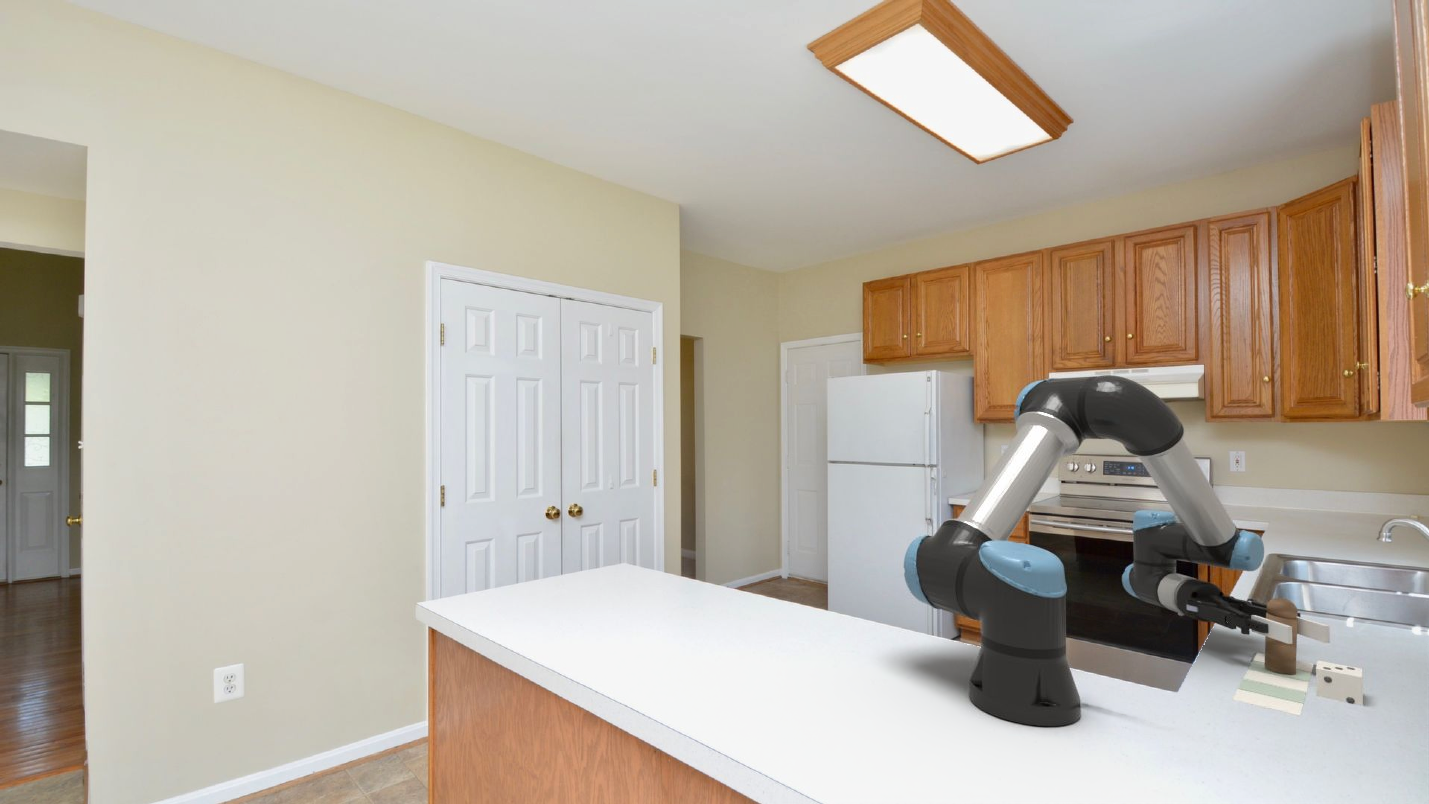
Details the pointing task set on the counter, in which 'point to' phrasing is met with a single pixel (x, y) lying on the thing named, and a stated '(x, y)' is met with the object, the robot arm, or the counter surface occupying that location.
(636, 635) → the counter surface
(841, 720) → the counter surface
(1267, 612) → the robot arm
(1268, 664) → the pawn
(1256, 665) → the board
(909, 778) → the counter surface
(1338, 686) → the die
